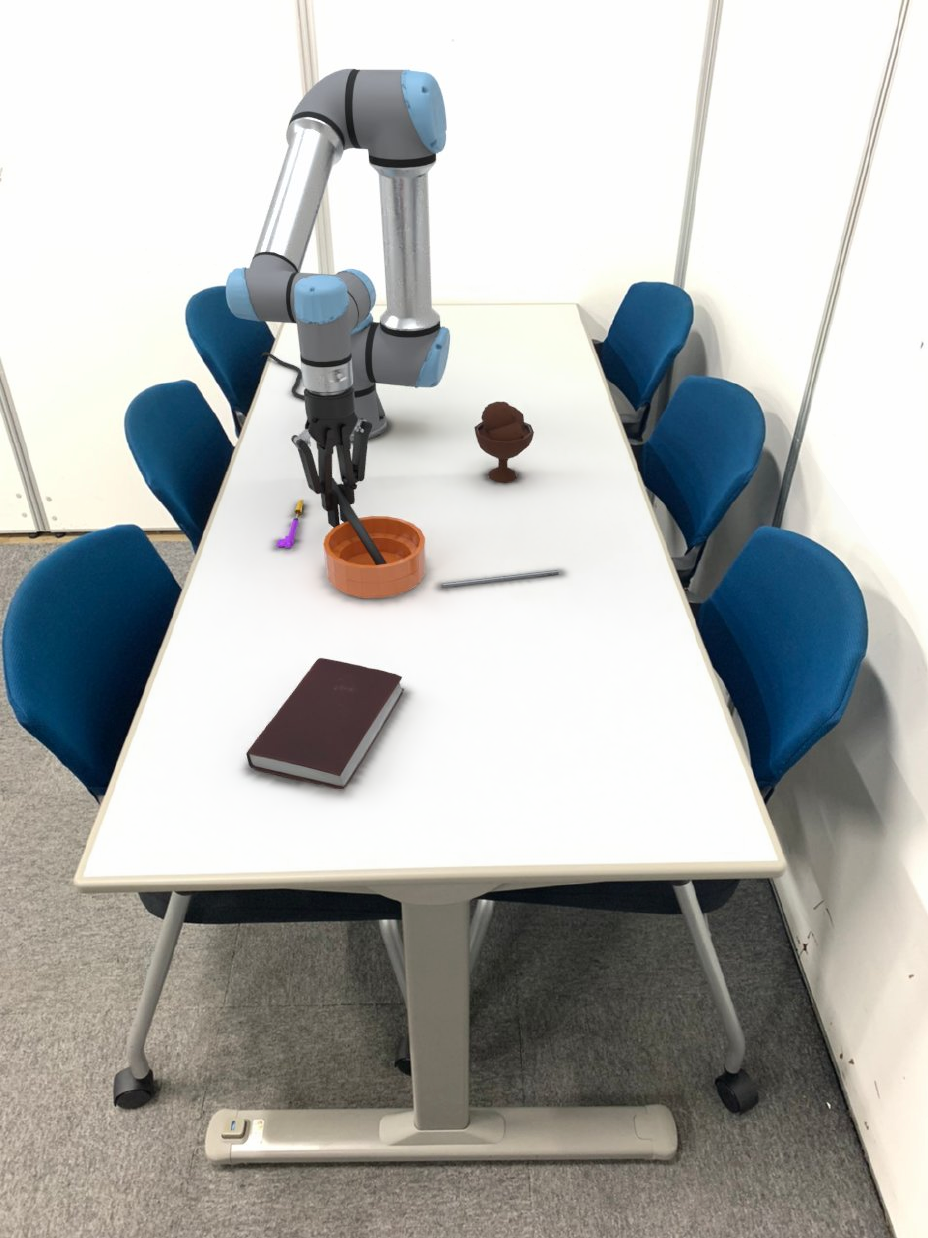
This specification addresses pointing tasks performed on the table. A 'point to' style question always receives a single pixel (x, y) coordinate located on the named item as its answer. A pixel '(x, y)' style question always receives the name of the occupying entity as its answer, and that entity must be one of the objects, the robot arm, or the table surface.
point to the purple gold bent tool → (290, 538)
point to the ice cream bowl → (503, 437)
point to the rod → (500, 579)
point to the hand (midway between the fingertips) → (340, 523)
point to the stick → (358, 526)
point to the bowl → (357, 569)
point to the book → (327, 723)
